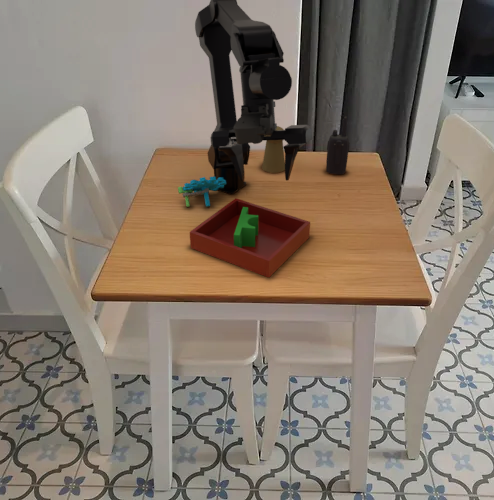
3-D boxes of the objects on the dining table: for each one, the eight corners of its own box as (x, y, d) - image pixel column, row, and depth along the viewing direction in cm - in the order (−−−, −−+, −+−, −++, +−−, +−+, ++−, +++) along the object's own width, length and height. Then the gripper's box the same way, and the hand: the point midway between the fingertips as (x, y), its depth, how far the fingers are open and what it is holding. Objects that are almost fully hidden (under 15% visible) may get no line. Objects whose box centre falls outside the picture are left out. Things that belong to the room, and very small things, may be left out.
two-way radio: (346, 170, 143) (352, 114, 134) (346, 178, 139) (352, 121, 131) (325, 168, 143) (329, 113, 135) (324, 176, 139) (329, 120, 131)
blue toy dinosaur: (226, 184, 131) (224, 170, 121) (230, 207, 130) (228, 196, 120) (180, 192, 131) (174, 179, 121) (184, 215, 130) (178, 205, 120)
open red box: (190, 248, 112) (189, 231, 109) (236, 213, 123) (235, 198, 121) (268, 277, 104) (269, 260, 102) (309, 237, 116) (310, 221, 114)
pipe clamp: (252, 255, 109) (252, 236, 107) (234, 254, 110) (233, 235, 107) (260, 226, 118) (260, 207, 116) (243, 224, 119) (242, 206, 116)
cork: (285, 173, 140) (287, 132, 134) (261, 172, 140) (262, 132, 134) (285, 163, 146) (286, 123, 139) (262, 162, 145) (263, 122, 139)
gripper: (194, 104, 97) (204, 190, 102) (295, 99, 92) (301, 190, 97) (217, 99, 107) (225, 177, 112) (310, 93, 102) (314, 176, 107)
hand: (264, 180), depth 107 cm, fingers open, 9 cm apart
